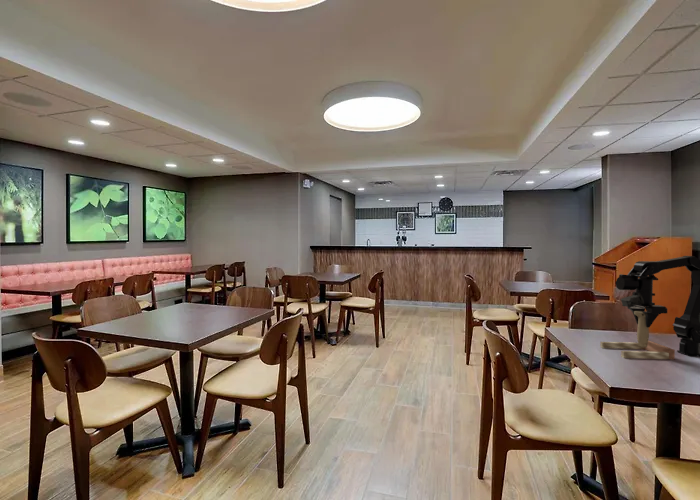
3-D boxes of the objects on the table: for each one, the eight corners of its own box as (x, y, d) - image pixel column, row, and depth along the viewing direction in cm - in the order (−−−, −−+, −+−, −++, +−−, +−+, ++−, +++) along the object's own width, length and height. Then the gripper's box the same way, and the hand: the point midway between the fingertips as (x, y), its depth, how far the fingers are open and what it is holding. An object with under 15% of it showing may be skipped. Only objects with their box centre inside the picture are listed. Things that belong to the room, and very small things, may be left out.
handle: (651, 349, 155) (652, 314, 154) (632, 346, 159) (633, 311, 159) (652, 346, 158) (653, 312, 158) (634, 343, 163) (635, 310, 162)
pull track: (645, 348, 166) (645, 339, 166) (674, 359, 150) (674, 349, 150) (600, 346, 168) (600, 338, 168) (624, 358, 152) (624, 348, 152)
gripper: (610, 287, 168) (609, 320, 168) (640, 293, 149) (639, 330, 150) (635, 287, 167) (635, 321, 168) (669, 293, 149) (668, 331, 149)
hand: (643, 325), depth 159 cm, fingers closed on handle, 5 cm apart
